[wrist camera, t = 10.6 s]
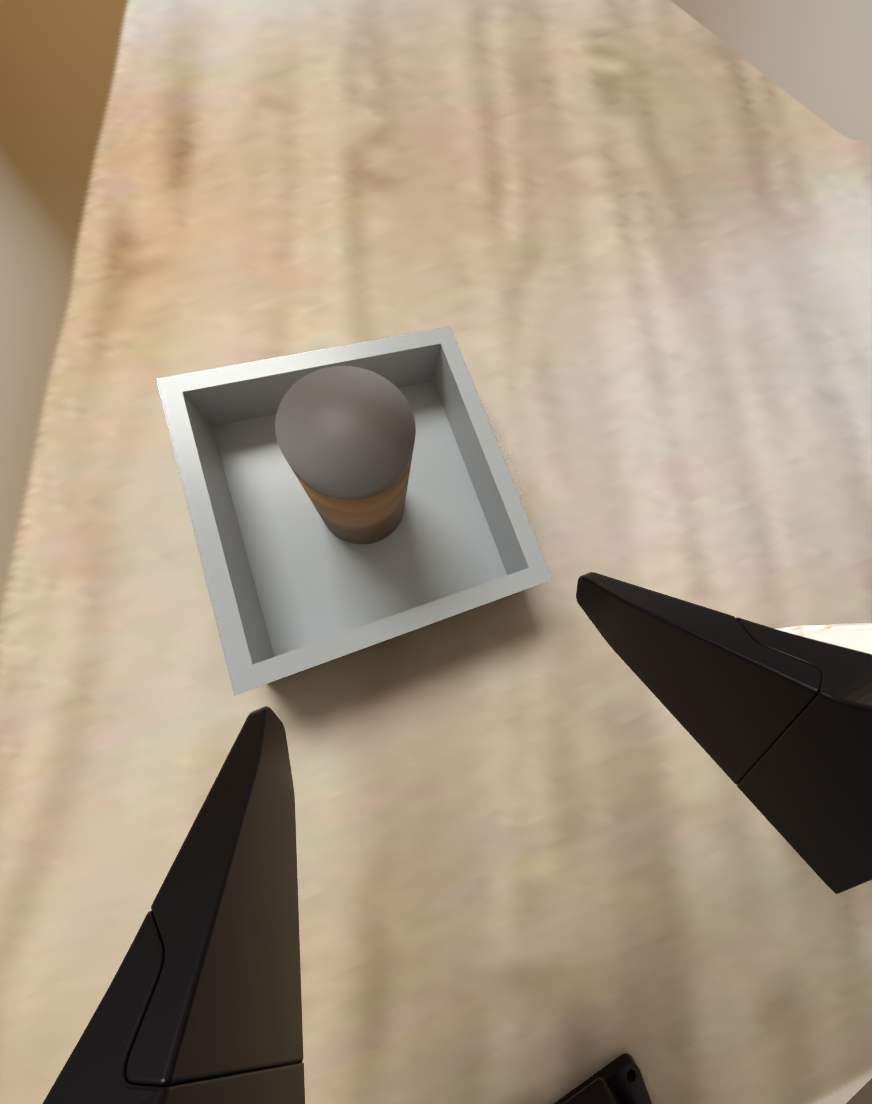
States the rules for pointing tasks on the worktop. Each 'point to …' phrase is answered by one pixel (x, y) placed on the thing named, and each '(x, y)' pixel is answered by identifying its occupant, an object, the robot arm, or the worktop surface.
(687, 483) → the worktop surface
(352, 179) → the worktop surface
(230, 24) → the worktop surface
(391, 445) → the spice jar
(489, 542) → the bin
